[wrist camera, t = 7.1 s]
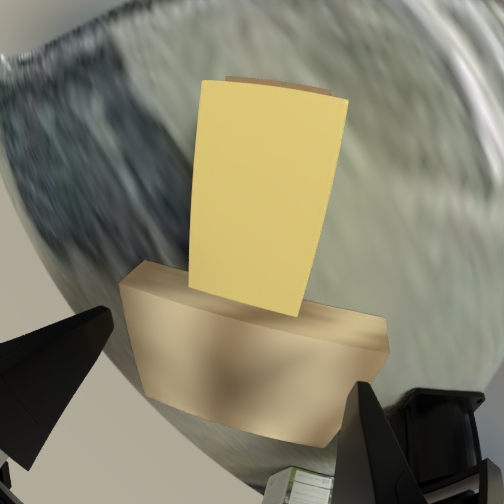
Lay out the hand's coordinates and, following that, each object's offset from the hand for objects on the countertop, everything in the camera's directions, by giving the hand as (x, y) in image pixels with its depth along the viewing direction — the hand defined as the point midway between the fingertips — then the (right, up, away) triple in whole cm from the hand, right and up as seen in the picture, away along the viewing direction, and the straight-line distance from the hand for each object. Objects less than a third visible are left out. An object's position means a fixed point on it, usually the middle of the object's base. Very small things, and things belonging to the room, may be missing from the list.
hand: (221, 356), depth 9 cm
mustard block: (+1, +3, +3) cm, 4 cm away
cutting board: (+1, -3, +8) cm, 8 cm away
